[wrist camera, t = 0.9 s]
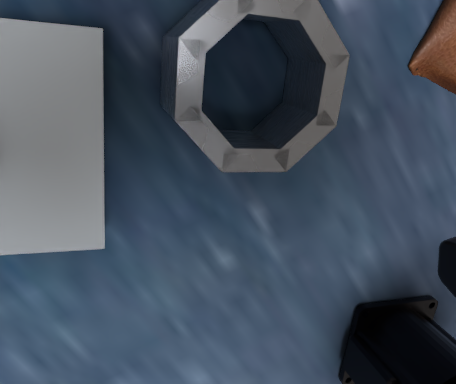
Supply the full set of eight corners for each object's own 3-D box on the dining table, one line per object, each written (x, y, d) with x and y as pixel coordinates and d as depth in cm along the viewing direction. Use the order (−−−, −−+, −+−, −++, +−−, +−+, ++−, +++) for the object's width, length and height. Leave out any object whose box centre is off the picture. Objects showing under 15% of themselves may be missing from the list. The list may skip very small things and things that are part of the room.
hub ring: (315, 4, 19) (360, -1, 16) (292, 150, 21) (327, 171, 18) (164, -18, 17) (182, -28, 14) (158, 148, 19) (171, 172, 16)
